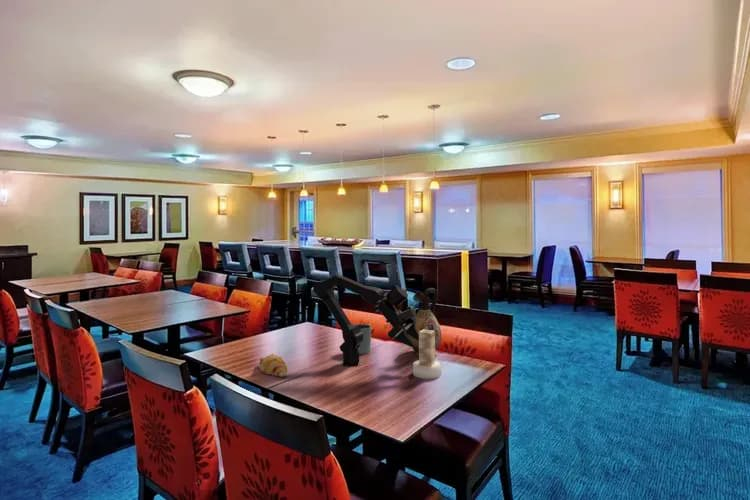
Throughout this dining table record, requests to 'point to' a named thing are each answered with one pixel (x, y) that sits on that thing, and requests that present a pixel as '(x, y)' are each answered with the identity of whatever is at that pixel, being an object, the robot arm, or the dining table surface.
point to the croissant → (273, 365)
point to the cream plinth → (427, 370)
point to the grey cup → (365, 338)
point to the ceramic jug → (426, 318)
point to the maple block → (427, 347)
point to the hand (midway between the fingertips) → (416, 343)
